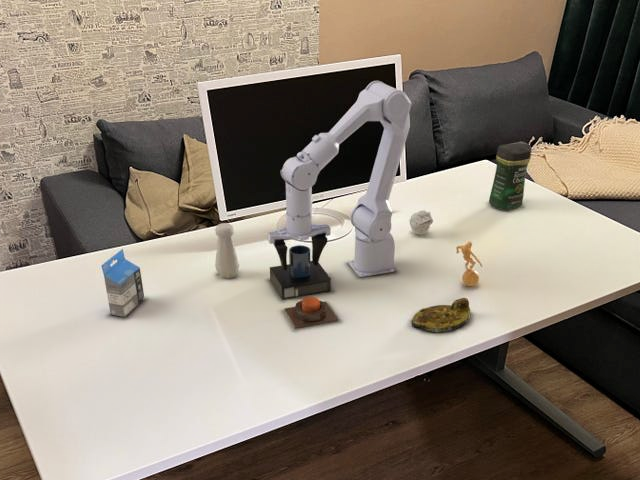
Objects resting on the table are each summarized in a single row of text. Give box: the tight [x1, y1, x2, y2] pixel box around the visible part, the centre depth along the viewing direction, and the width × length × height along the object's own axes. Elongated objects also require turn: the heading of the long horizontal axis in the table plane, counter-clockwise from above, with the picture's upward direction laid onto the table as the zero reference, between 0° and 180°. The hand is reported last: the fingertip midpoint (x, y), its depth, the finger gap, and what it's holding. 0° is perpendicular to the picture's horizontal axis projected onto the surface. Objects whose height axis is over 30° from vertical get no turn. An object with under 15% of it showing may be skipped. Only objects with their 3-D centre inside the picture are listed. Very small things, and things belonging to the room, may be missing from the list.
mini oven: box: [269, 260, 332, 301], centre depth 174 cm, size 12×11×4 cm
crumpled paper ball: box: [409, 209, 434, 236], centre depth 198 cm, size 6×7×7 cm
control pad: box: [283, 299, 339, 330], centre depth 163 cm, size 10×8×2 cm
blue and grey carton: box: [101, 248, 145, 318], centre depth 162 cm, size 9×4×12 cm, turn 163°
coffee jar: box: [488, 141, 532, 211], centre depth 212 cm, size 10×8×19 cm
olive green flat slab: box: [411, 297, 471, 333], centre depth 162 cm, size 9×5×15 cm
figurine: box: [456, 241, 483, 287], centre depth 173 cm, size 8×6×12 cm
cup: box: [288, 244, 311, 278], centre depth 171 cm, size 5×5×6 cm
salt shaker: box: [214, 222, 240, 279], centre depth 175 cm, size 6×6×13 cm
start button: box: [301, 296, 321, 312], centre depth 162 cm, size 4×4×2 cm
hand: (299, 266), depth 172 cm, fingers open, 7 cm apart
